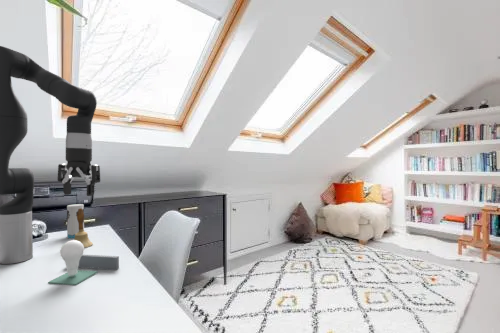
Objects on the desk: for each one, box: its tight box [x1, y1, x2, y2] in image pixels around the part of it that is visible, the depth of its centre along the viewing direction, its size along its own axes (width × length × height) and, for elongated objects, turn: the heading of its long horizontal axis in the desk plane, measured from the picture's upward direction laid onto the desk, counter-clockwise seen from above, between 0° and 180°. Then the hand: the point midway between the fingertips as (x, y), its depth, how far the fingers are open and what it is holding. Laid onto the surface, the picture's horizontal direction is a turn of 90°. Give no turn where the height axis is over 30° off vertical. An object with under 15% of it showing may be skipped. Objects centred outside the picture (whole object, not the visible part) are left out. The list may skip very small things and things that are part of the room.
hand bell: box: [73, 208, 94, 249], centre depth 114 cm, size 8×8×16 cm
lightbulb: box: [59, 239, 85, 277], centre depth 82 cm, size 6×6×11 cm
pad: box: [47, 269, 99, 286], centre depth 82 cm, size 9×9×1 cm
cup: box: [66, 203, 85, 239], centre depth 129 cm, size 7×7×15 cm
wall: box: [78, 254, 120, 271], centre depth 90 cm, size 18×1×4 cm, turn 82°
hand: (78, 195), depth 91 cm, fingers open, 8 cm apart
